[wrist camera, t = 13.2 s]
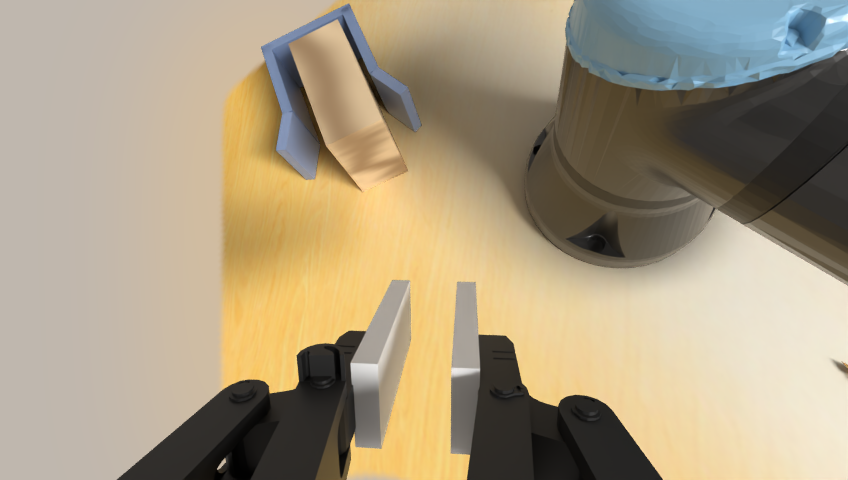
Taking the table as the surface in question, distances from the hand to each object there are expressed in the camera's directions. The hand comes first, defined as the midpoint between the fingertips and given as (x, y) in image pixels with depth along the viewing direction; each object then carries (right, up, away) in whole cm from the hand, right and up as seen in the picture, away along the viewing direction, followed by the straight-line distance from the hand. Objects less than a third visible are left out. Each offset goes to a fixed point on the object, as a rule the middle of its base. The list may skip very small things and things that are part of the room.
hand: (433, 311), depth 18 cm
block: (-6, +14, +26) cm, 30 cm away
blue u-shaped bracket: (-9, +17, +28) cm, 34 cm away
